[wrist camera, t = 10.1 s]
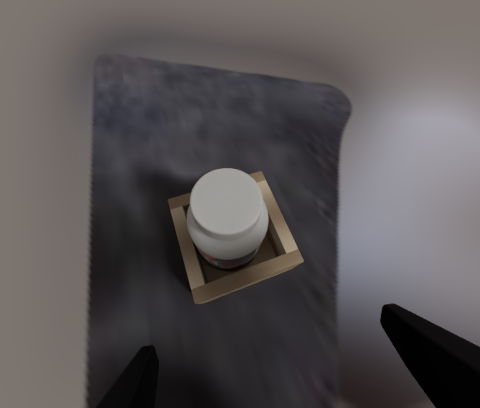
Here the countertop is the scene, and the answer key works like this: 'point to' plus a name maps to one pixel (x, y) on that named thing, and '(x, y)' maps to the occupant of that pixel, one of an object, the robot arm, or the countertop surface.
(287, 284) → the countertop surface
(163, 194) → the countertop surface
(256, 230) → the pill bottle
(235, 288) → the birch socket stand
